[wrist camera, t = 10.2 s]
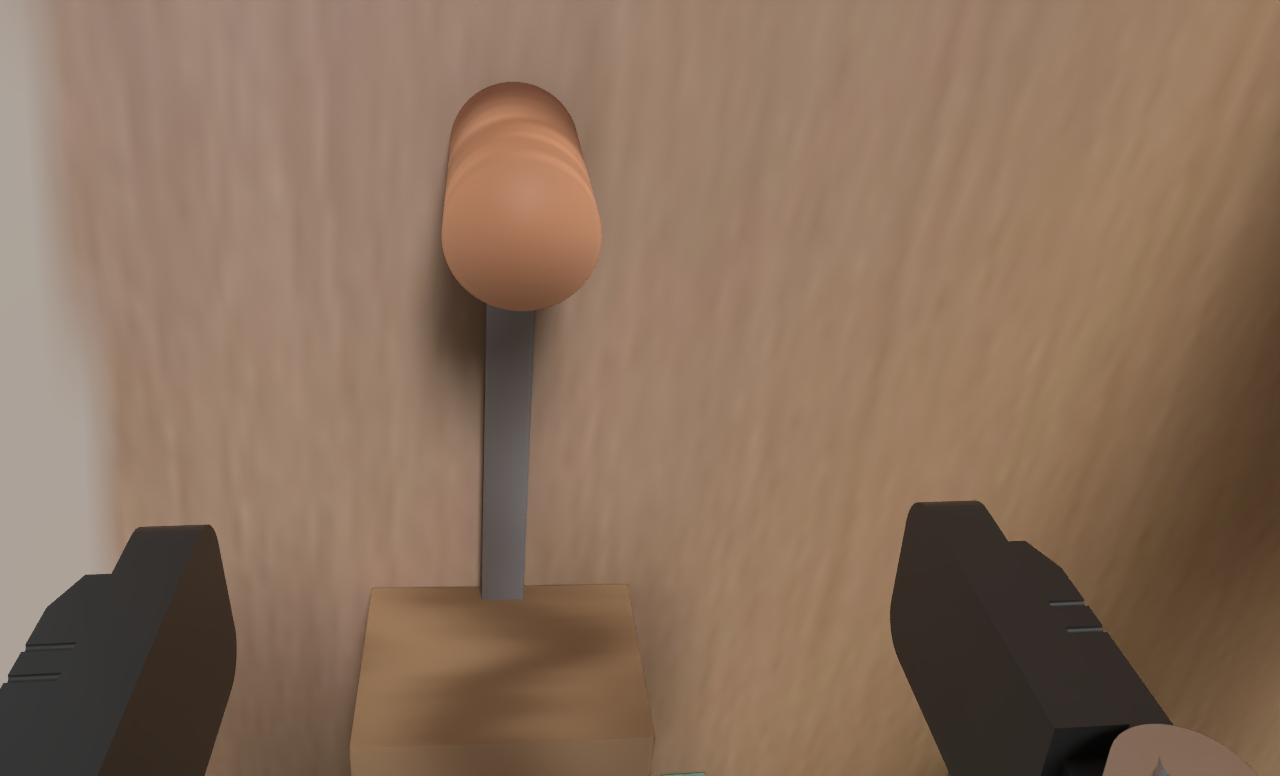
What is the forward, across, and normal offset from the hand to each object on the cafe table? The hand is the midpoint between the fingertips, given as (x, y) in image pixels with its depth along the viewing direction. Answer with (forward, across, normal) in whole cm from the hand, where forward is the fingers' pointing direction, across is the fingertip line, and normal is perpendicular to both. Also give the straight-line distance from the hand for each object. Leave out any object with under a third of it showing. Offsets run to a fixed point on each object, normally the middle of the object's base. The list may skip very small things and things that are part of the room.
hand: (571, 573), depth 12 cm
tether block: (+15, +1, +8) cm, 17 cm away
